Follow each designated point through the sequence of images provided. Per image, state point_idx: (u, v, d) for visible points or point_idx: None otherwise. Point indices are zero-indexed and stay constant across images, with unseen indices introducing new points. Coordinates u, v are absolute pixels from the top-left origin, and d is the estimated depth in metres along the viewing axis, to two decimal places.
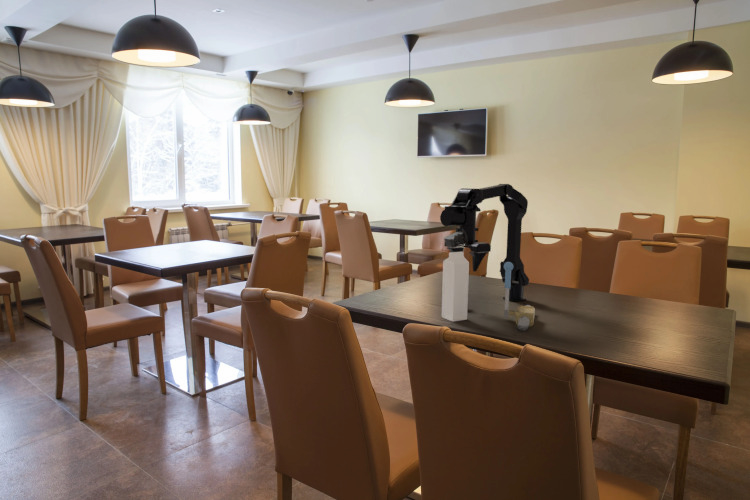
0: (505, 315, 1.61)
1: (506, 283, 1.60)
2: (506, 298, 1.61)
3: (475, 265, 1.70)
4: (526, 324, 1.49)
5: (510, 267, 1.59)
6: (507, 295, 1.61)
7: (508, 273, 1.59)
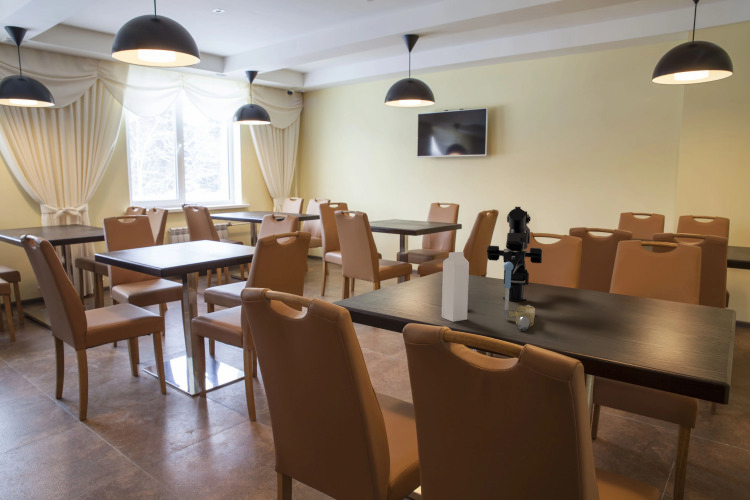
0: (505, 315, 1.61)
1: (506, 283, 1.60)
2: (506, 298, 1.61)
3: (515, 267, 1.74)
4: (526, 324, 1.49)
5: (510, 267, 1.59)
6: (507, 295, 1.61)
7: (508, 273, 1.59)
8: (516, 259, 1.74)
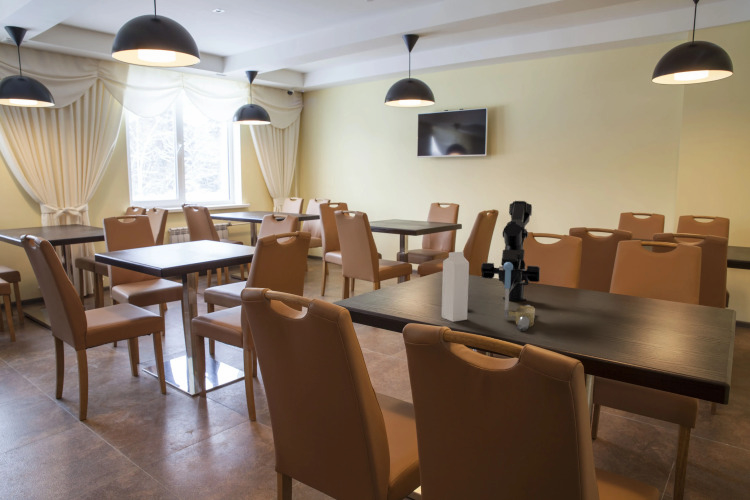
0: (505, 315, 1.61)
1: (506, 283, 1.60)
2: (506, 298, 1.61)
3: (511, 287, 1.63)
4: (526, 324, 1.49)
5: (510, 267, 1.58)
6: (507, 295, 1.60)
7: (508, 273, 1.59)
8: (512, 278, 1.63)
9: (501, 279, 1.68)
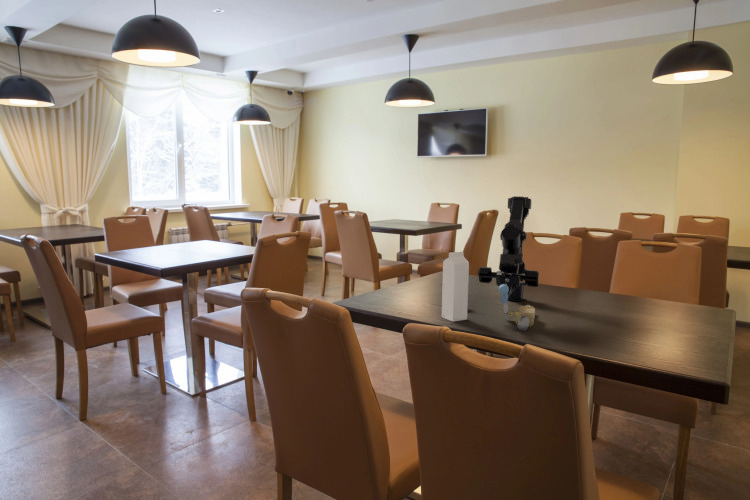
0: (505, 316, 1.62)
1: (503, 300, 1.54)
2: (505, 307, 1.58)
3: (509, 292, 1.57)
4: (526, 324, 1.49)
5: (505, 293, 1.49)
6: (505, 306, 1.57)
7: (504, 295, 1.51)
8: (510, 283, 1.58)
9: (499, 284, 1.62)
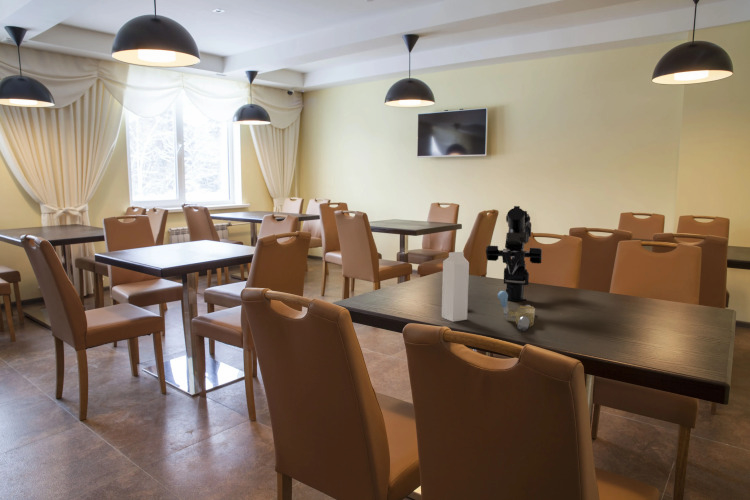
0: (505, 316, 1.62)
1: (502, 305, 1.53)
2: (504, 309, 1.58)
3: (514, 268, 1.71)
4: (526, 324, 1.49)
5: (505, 299, 1.49)
6: (505, 308, 1.57)
7: (503, 301, 1.50)
8: (515, 259, 1.72)
9: (505, 261, 1.76)
